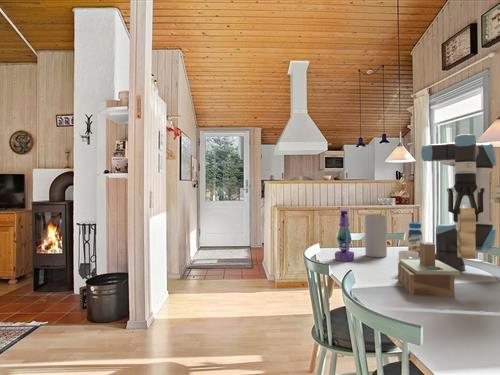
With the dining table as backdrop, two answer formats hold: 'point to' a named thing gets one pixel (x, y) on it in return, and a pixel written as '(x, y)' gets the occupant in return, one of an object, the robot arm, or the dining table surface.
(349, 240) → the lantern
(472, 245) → the tall wooden block
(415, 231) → the beverage bottle
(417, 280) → the open wooden box
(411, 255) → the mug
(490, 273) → the dining table surface
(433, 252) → the lid
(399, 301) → the dining table surface
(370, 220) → the cylinder vase
